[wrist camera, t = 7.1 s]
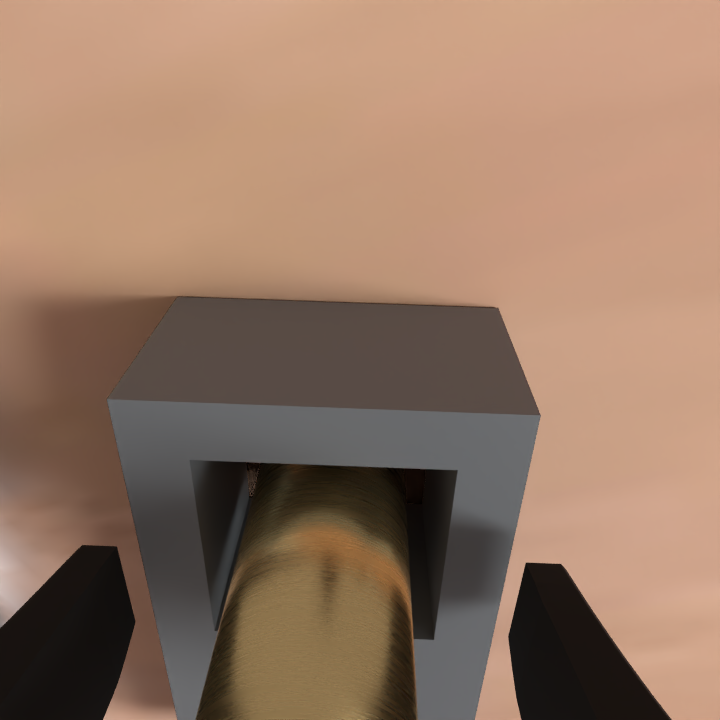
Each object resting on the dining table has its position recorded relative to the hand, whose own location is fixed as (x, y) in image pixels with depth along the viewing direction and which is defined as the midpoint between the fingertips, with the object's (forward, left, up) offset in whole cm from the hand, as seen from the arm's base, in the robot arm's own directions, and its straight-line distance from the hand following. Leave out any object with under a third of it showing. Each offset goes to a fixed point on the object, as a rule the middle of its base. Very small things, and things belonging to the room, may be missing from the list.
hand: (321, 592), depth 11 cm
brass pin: (0, 0, -5) cm, 5 cm away
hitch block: (-4, -3, -5) cm, 7 cm away
